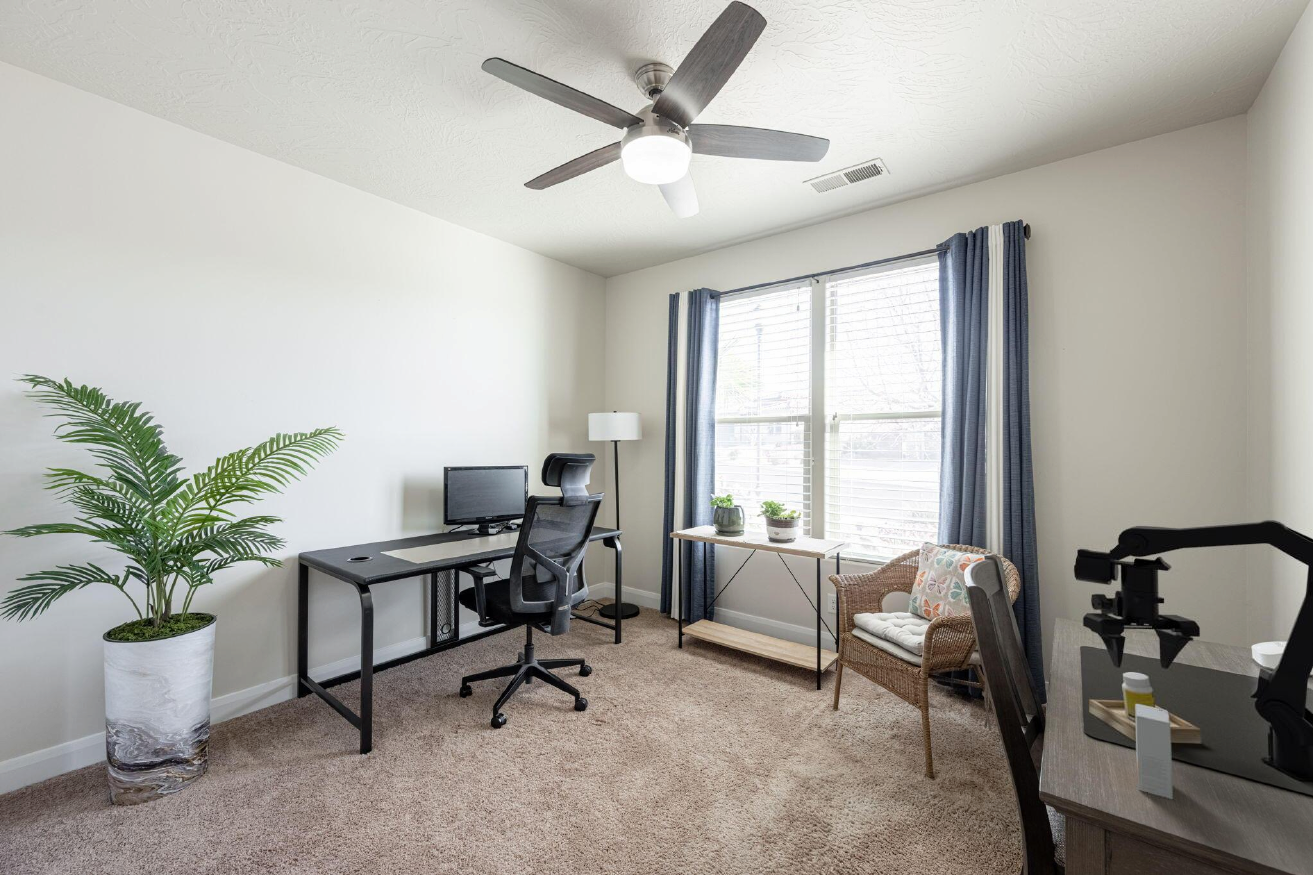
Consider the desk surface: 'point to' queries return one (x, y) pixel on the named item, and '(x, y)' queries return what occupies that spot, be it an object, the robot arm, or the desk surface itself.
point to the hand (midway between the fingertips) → (1140, 667)
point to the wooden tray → (1117, 719)
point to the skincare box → (1153, 750)
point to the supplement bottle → (1136, 692)
